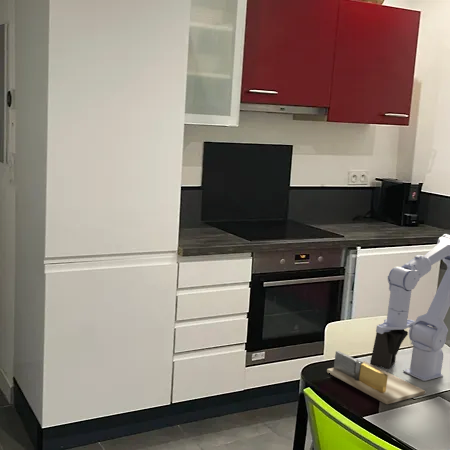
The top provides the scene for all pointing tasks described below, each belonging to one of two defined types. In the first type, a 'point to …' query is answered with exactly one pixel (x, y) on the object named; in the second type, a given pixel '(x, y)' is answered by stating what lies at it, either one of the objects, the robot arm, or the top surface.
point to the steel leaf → (347, 365)
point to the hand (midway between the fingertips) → (392, 353)
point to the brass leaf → (373, 378)
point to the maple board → (394, 387)
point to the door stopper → (381, 352)
